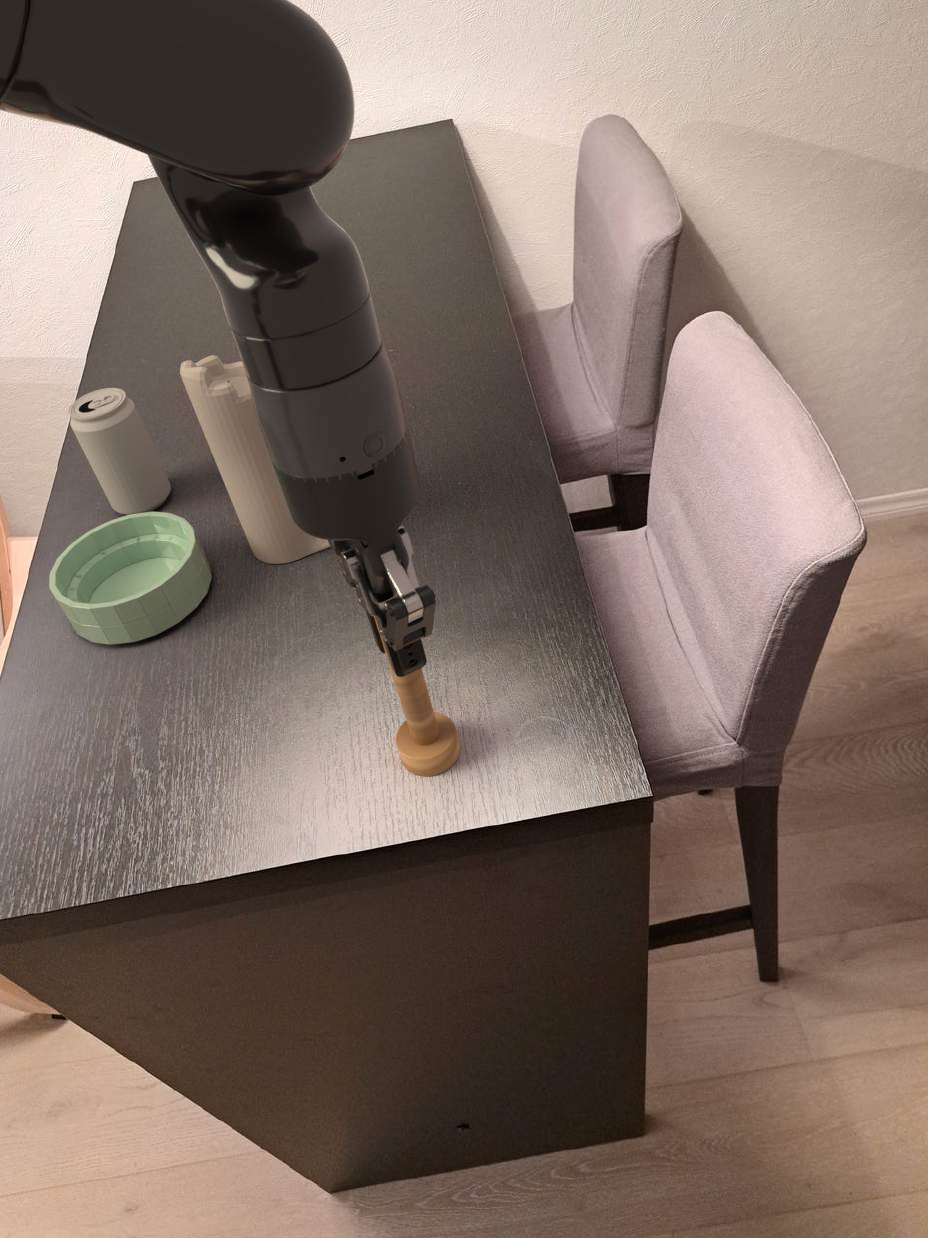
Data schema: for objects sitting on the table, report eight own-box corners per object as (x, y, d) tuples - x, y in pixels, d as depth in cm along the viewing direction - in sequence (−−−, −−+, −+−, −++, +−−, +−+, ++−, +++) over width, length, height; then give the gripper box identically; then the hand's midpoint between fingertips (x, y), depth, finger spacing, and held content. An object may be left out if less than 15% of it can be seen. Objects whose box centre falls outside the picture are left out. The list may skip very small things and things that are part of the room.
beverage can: (110, 497, 101) (60, 399, 93) (167, 476, 103) (123, 377, 95) (119, 527, 97) (67, 427, 89) (179, 504, 98) (133, 403, 90)
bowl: (166, 657, 81) (144, 615, 78) (45, 640, 85) (18, 599, 82) (238, 558, 90) (220, 516, 86) (124, 547, 94) (103, 507, 91)
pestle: (449, 781, 66) (406, 629, 56) (392, 771, 68) (340, 621, 58) (468, 733, 69) (430, 580, 59) (413, 725, 71) (367, 574, 61)
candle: (399, 521, 90) (348, 325, 76) (261, 574, 87) (183, 382, 74) (375, 484, 95) (323, 295, 81) (244, 533, 92) (168, 347, 79)
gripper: (234, 405, 54) (315, 622, 66) (315, 522, 45) (392, 751, 56) (353, 359, 56) (411, 578, 68) (455, 462, 46) (502, 697, 58)
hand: (402, 656), depth 62 cm, fingers closed on pestle, 2 cm apart
